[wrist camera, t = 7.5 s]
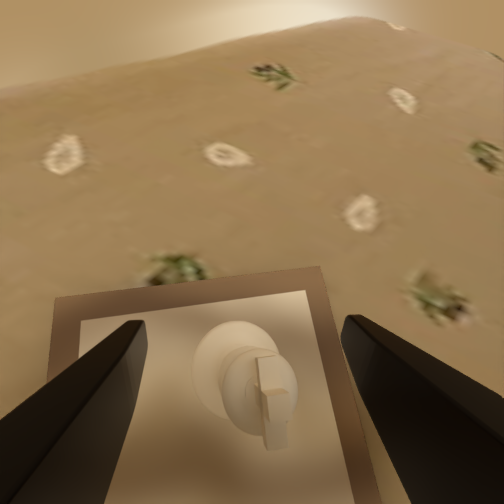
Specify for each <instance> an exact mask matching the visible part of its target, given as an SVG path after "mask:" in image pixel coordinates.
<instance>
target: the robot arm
mask: <svg viewBox="0 0 504 504" xmlns="http://www.w3.org/2000/svg"><path fill="white" fill-rule="evenodd" d="M341 344H342V347H343V349H344V352H345V355H346V358H347V361H348V363H349V366H350V369H351V372H352V375H353V377H354V380H355V383H356V386H357V388H358V391H359V393H360V395H361V397H362V400H363V402H364V404H365V406H366V408H367V410H368V412H369V415H370V417H371V419H372V421H373V423H374V425H375V427H376V429H377V432H378V434H379V436H380V438H381V440H382V442H383V444H384V446H385V449H386V451H387V453H388V455H389V457H390V459H391V461H392V463H393V466H394V468H395V470H396V472H397V474H398V476H399V478H400V480H401V482H402V485H403V487H404V489H405V491H406V493H407V495H408V497H409V499H410V502H411V504H504V398H502V396H501V395H499V394H497V393H496V392H494V391H492V390H490V389H489V388H487V387H485V386H483V385H482V384H480V383H478V382H477V381H475V380H473V379H471V378H470V377H468V376H466V375H464V374H463V373H461V372H459V371H457V370H456V369H454V368H452V367H451V366H449V365H447V364H445V363H444V362H442V361H440V360H438V359H437V358H435V357H433V356H432V355H430V354H428V353H426V352H425V351H423V350H421V349H419V348H418V347H416V346H414V345H412V344H411V343H409V342H407V341H406V340H404V339H402V338H400V337H399V336H397V335H395V334H393V333H392V332H390V331H388V330H387V329H385V328H383V327H381V326H380V325H378V324H376V323H374V322H373V321H371V320H369V319H368V318H366V317H364V316H362V315H359V314H356V315H347V316H346V318H345V321H344V325H343V329H342V332H341ZM147 350H148V339H147V332H146V324H145V321H144V320H128V321H126V322H125V323H124V324H122V325H121V326H120V327H118V328H117V329H116V330H115V331H113V332H112V333H111V334H110V335H108V336H107V337H106V338H104V339H103V340H102V341H101V342H99V343H98V344H97V345H95V346H94V347H93V348H92V349H90V350H89V351H88V352H86V353H85V354H84V355H83V356H81V357H80V358H79V359H77V360H76V361H75V362H74V363H72V364H71V365H70V366H69V367H67V368H66V369H65V370H63V371H62V372H61V373H60V374H58V375H57V376H56V377H54V378H53V379H52V380H51V381H49V382H48V383H47V384H45V385H44V386H43V387H42V388H40V389H39V390H38V391H36V392H35V393H34V394H33V395H31V396H30V397H29V398H28V399H26V400H25V401H24V402H22V403H21V404H20V405H19V406H17V407H16V408H15V409H13V410H12V411H11V412H10V413H8V414H7V415H6V416H4V417H3V418H2V419H1V420H0V504H104V502H105V499H106V496H107V493H108V490H109V487H110V484H111V481H112V478H113V475H114V472H115V469H116V466H117V463H118V459H119V456H120V453H121V450H122V447H123V444H124V441H125V438H126V435H127V432H128V429H129V426H130V423H131V420H132V417H133V413H134V410H135V406H136V402H137V398H138V393H139V388H140V383H141V379H142V374H143V369H144V365H145V360H146V355H147Z"/></svg>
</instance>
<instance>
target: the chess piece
mask: <svg viewBox="0 0 504 504" xmlns="http://www.w3.org/2000/svg"><path fill="white" fill-rule="evenodd" d="M191 378H192V383H193V387H194V390H195V392H196V395H197V396H198V398H199V400H200V401H201V403H202V404H203V405H204V406H205V407H206V408H207V409H208V410H209V411H210V412H212V413H213V414H215V415H216V416H218V417H221V418H224V419H228V420H231V421H232V422H233V424H234V425H235V426H236V427H238V428H239V429H240V430H242V431H244V432H245V433H248V434H251V435H256V436H263V443H264V446H265V448H266V450H267V452H269V451H274V450H280V449H285V448H289V444H288V436H287V429H286V423H287V422H288V421H289V420H293V416H292V415H293V413H294V410H295V408H296V404H297V400H298V384H297V379H296V376H295V373H294V371H293V369H292V367H291V366H290V364H289V363H288V362H287V361H286V359H285V358H283V357H282V356H281V355H280V354H279V351H278V349H277V346H276V344H275V343H274V341H273V340H272V338H271V337H270V336H269V335H268V334H267V333H266V332H265V331H264V330H263V329H261V328H260V327H258V326H257V325H255V324H252V323H250V322H246V321H229V322H225V323H222V324H220V325H218V326H216V327H214V328H213V329H211V330H210V331H209V332H208V333H207V334H206V335H205V336H204V337H203V338H202V340H201V341H200V342H199V344H198V346H197V348H196V350H195V353H194V356H193V359H192V365H191Z"/></svg>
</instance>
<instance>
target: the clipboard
mask: <svg viewBox="0 0 504 504" xmlns="http://www.w3.org/2000/svg"><path fill="white" fill-rule="evenodd" d="M128 320H144V321H145V324H146V332H147V339H148V350H147V355H146V360H145V365H144V369H143V374H142V379H141V383H140V388H139V393H138V398H137V402H136V406H135V410H134V413H133V417H132V420H131V423H130V426H129V429H128V432H127V435H126V438H125V441H124V444H123V447H122V450H121V453H120V456H119V459H118V463H117V466H116V469H115V472H114V475H113V478H112V481H111V484H110V487H109V490H108V493H107V496H106V499H105V502H104V504H382V503H381V499H380V495H379V491H378V487H377V483H376V479H375V476H374V472H373V468H372V464H371V460H370V456H369V453H368V449H367V445H366V441H365V437H364V433H363V430H362V426H361V422H360V418H359V414H358V410H357V406H356V403H355V399H354V395H353V391H352V387H351V383H350V380H349V376H348V372H347V368H346V364H345V360H344V356H343V353H342V349H341V345H340V341H339V337H338V333H337V330H336V326H335V322H334V318H333V314H332V310H331V306H330V303H329V299H328V295H327V291H326V287H325V283H324V280H323V276H322V272H321V268H320V266H316V267H308V268H299V269H291V270H283V271H275V272H266V273H258V274H250V275H241V276H233V277H225V278H216V279H208V280H200V281H192V282H183V283H175V284H167V285H158V286H150V287H142V288H133V289H125V290H117V291H109V292H100V293H92V294H84V295H75V296H67V297H59V298H55V304H54V314H53V324H52V334H51V343H50V353H49V363H48V373H47V383H48V382H49V381H51V380H52V379H53V378H54V377H56V376H57V375H58V374H60V373H61V372H62V371H63V370H65V369H66V368H67V367H69V366H70V365H71V364H72V363H74V362H75V361H76V360H77V359H79V358H80V357H81V356H83V355H84V354H85V353H86V352H88V351H89V350H90V349H92V348H93V347H94V346H95V345H97V344H98V343H99V342H101V341H102V340H103V339H104V338H106V337H107V336H108V335H110V334H111V333H112V332H113V331H115V330H116V329H117V328H118V327H120V326H121V325H122V324H124V323H125V322H126V321H128ZM229 321H246V322H250V323H252V324H255V325H257V326H258V327H260V328H261V329H263V330H264V331H265V332H266V333H267V334H268V335H269V336H270V337H271V338H272V340H273V341H274V343H275V344H276V346H277V349H278V351H279V354H280V355H281V356H282V357H283V358H285V359H286V361H287V362H288V363H289V364H290V366H291V367H292V369H293V371H294V373H295V376H296V379H297V384H298V400H297V404H296V408H295V410H294V413H293V415H292V416H293V420H289V421H288V422H287V423H286V429H287V436H288V444H289V448H285V449H280V450H274V451H269V452H267V450H266V448H265V446H264V443H263V436H256V435H251V434H248V433H245V432H244V431H242V430H240V429H239V428H238V427H236V426H235V425H234V424H233V422H232V421H231V420H228V419H224V418H221V417H218V416H216V415H215V414H213V413H212V412H210V411H209V410H208V409H207V408H206V407H205V406H204V405H203V404H202V403H201V401H200V400H199V398H198V396H197V395H196V392H195V390H194V387H193V383H192V378H191V365H192V359H193V356H194V353H195V350H196V348H197V346H198V344H199V342H200V341H201V340H202V338H203V337H204V336H205V335H206V334H207V333H208V332H209V331H210V330H211V329H213V328H214V327H216V326H218V325H220V324H222V323H225V322H229ZM47 383H46V384H47Z"/></svg>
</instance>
